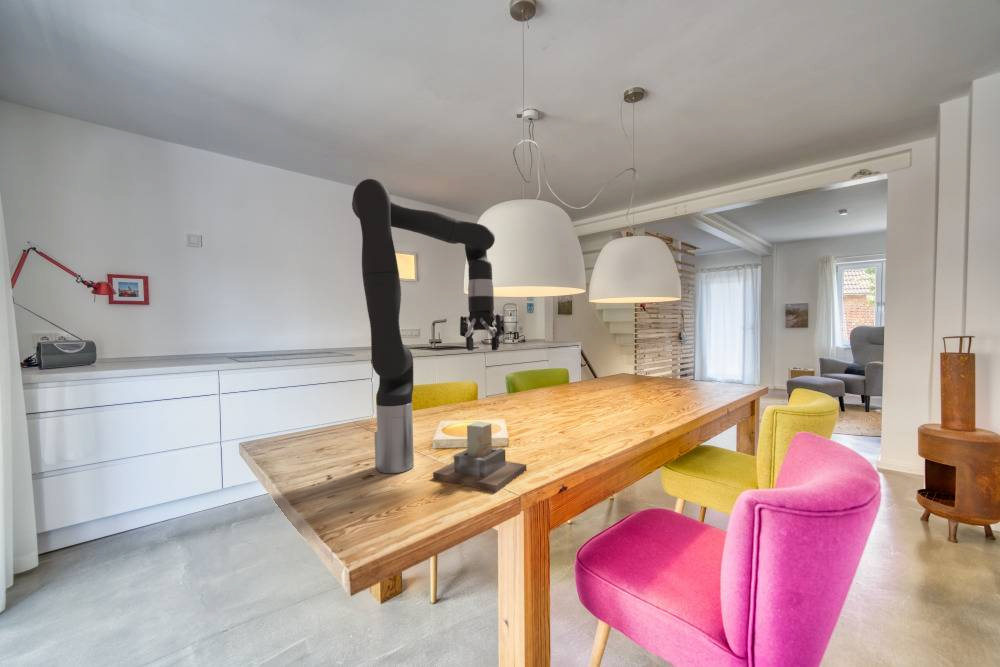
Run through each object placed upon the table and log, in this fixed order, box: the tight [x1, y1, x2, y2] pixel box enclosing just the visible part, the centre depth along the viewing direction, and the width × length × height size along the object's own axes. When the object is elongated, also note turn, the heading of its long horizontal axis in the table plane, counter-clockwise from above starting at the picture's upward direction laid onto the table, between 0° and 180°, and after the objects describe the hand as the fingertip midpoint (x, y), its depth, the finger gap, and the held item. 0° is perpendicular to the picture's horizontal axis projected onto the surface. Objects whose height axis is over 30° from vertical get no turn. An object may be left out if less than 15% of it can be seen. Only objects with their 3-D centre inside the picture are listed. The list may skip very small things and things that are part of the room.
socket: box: [432, 446, 527, 493], centre depth 97 cm, size 18×15×6 cm
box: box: [466, 421, 493, 458], centre depth 97 cm, size 5×4×11 cm
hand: (482, 350), depth 115 cm, fingers open, 8 cm apart
